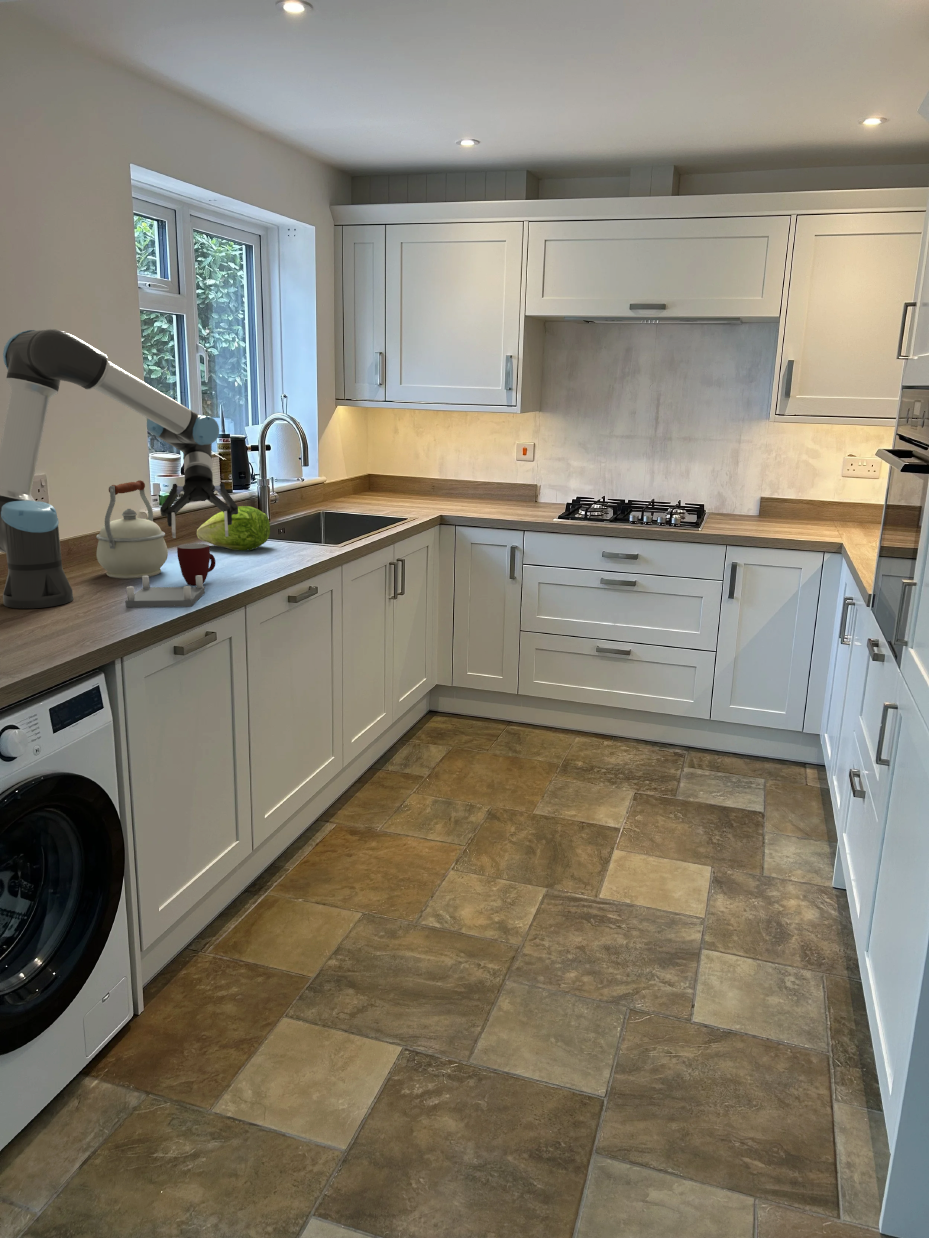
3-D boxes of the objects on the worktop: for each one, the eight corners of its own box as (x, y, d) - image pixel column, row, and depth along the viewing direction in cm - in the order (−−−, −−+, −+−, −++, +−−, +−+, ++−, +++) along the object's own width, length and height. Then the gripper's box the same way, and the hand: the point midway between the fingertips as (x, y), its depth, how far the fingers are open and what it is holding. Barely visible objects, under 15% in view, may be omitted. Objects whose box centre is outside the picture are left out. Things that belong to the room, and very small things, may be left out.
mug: (201, 578, 249) (199, 541, 247) (224, 581, 246) (222, 543, 243) (172, 585, 240) (170, 547, 238) (196, 588, 237) (193, 549, 234)
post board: (126, 607, 216) (124, 588, 215) (143, 593, 231) (142, 575, 230) (191, 606, 217) (190, 587, 216) (204, 592, 232) (203, 575, 231)
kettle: (143, 583, 243) (136, 487, 237) (80, 580, 246) (71, 485, 240) (189, 566, 266) (184, 478, 260) (131, 563, 270) (124, 477, 264)
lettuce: (213, 521, 308) (187, 503, 294) (278, 514, 300) (254, 496, 287) (209, 562, 304) (181, 546, 290) (274, 556, 296) (250, 539, 283)
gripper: (244, 480, 264) (248, 541, 254) (152, 482, 258) (152, 544, 248) (244, 463, 258) (248, 524, 247) (149, 464, 252) (149, 527, 242)
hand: (200, 534), depth 248 cm, fingers open, 13 cm apart
